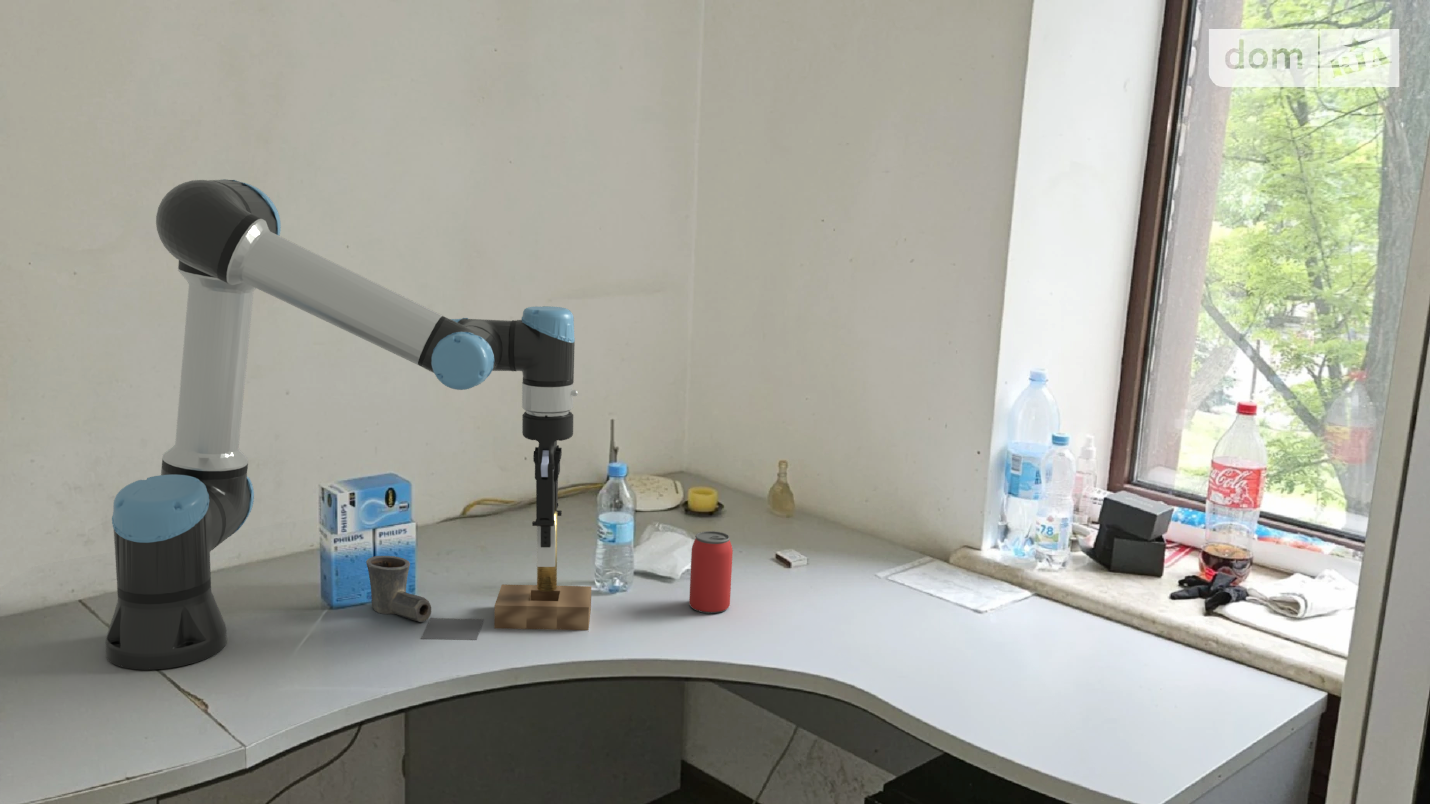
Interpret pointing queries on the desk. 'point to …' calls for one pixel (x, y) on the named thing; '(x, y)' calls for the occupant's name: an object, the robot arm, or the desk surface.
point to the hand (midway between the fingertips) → (546, 561)
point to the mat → (452, 629)
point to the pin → (548, 570)
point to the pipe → (394, 589)
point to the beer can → (711, 572)
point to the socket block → (543, 608)
